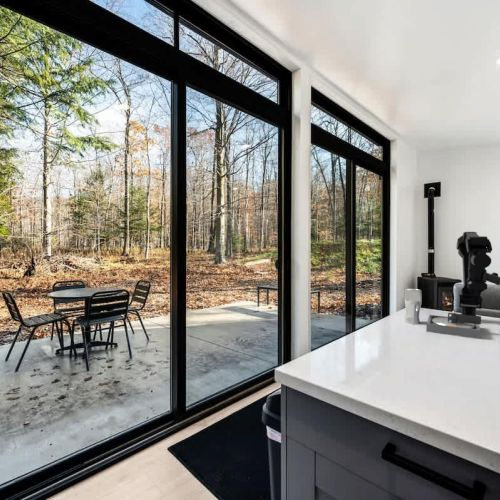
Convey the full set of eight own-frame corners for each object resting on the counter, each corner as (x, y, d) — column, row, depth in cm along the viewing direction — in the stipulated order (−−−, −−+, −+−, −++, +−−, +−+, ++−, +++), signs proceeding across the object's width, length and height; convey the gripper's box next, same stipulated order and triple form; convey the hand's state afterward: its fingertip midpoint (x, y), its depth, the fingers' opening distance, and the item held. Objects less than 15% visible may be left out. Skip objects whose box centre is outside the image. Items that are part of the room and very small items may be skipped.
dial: (430, 326, 131) (431, 314, 131) (433, 319, 143) (433, 308, 143) (481, 333, 122) (482, 320, 121) (479, 324, 134) (479, 313, 134)
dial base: (429, 321, 146) (429, 314, 145) (477, 327, 136) (478, 319, 136) (426, 331, 131) (426, 323, 130) (480, 338, 121) (480, 329, 121)
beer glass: (405, 323, 142) (406, 290, 142) (402, 320, 149) (403, 288, 149) (422, 324, 140) (423, 291, 140) (419, 321, 147) (419, 288, 147)
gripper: (504, 269, 121) (503, 309, 121) (498, 265, 136) (497, 301, 137) (468, 267, 127) (467, 306, 127) (467, 264, 142) (466, 299, 143)
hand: (476, 303), depth 133 cm, fingers open, 3 cm apart
